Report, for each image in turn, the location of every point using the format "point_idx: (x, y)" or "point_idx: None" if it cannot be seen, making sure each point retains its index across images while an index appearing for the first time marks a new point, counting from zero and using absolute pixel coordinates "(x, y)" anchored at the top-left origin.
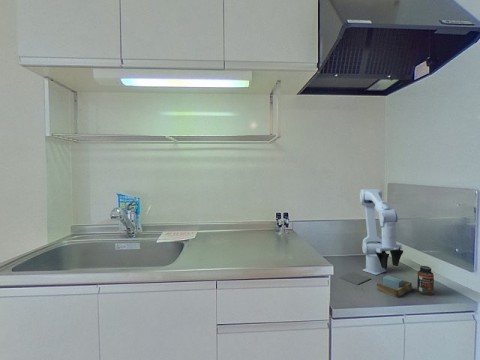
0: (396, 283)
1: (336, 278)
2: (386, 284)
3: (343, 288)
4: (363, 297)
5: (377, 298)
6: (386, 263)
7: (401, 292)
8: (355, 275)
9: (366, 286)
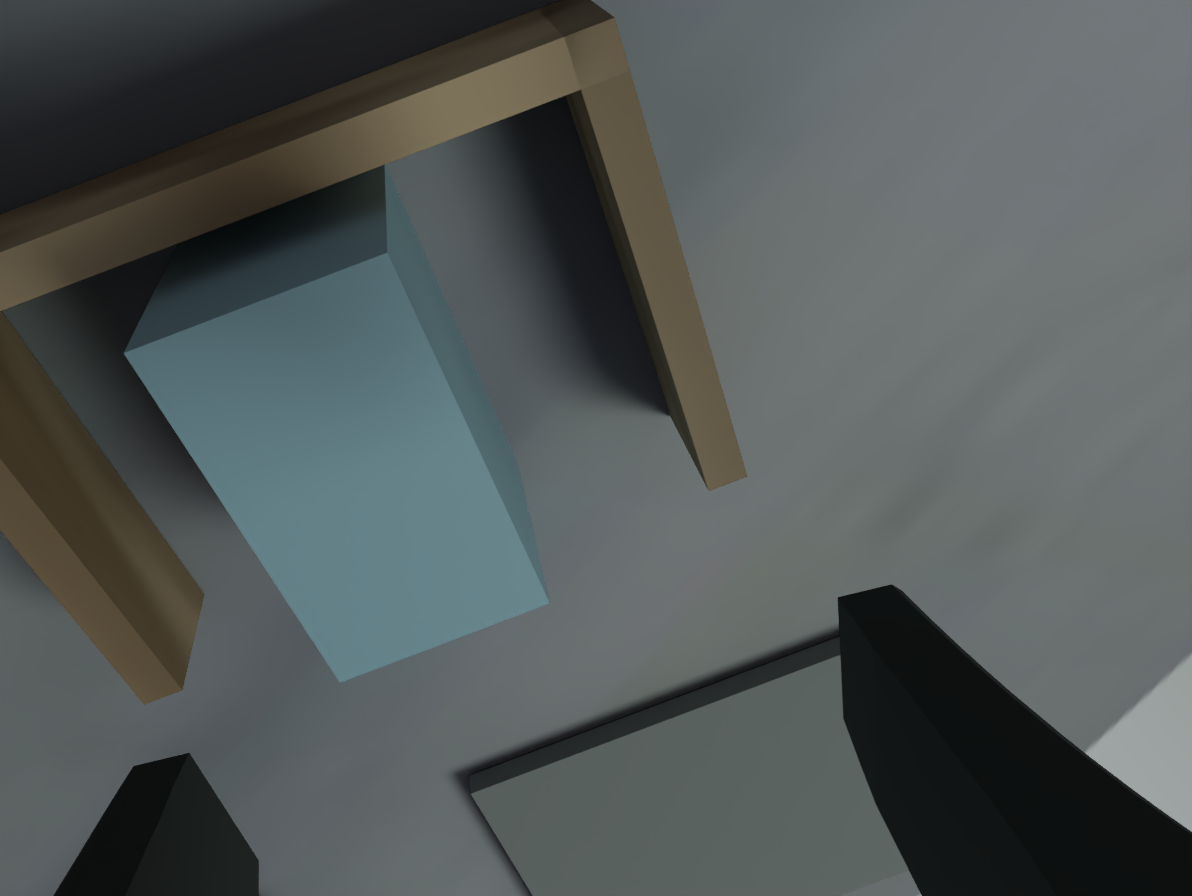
0: (413, 290)
1: None
2: (499, 455)
3: (1159, 564)
4: (1180, 207)
5: (995, 92)
6: (1018, 731)
7: (387, 78)
8: (654, 890)
9: (766, 563)
